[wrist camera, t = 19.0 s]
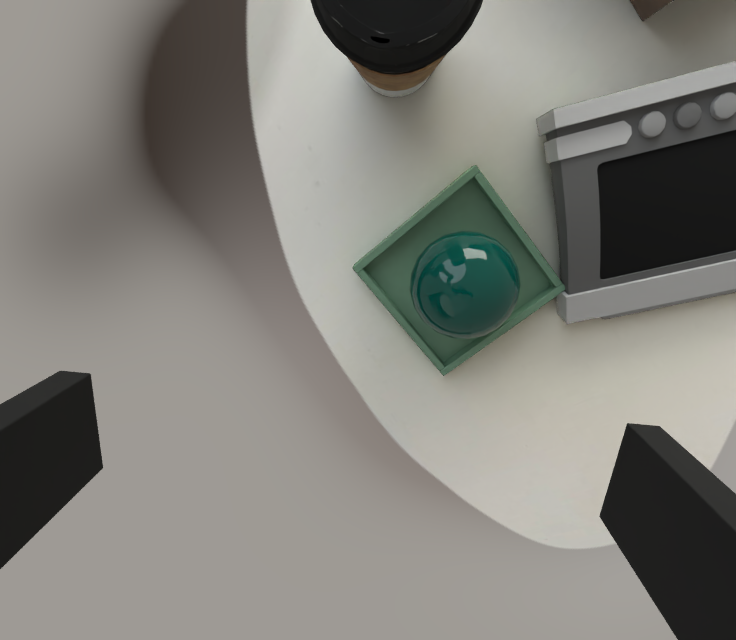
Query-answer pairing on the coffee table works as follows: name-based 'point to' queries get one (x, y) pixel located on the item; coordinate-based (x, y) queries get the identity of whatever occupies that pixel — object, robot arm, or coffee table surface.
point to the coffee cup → (395, 37)
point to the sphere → (465, 285)
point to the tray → (439, 217)
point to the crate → (649, 7)
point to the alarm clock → (645, 195)
